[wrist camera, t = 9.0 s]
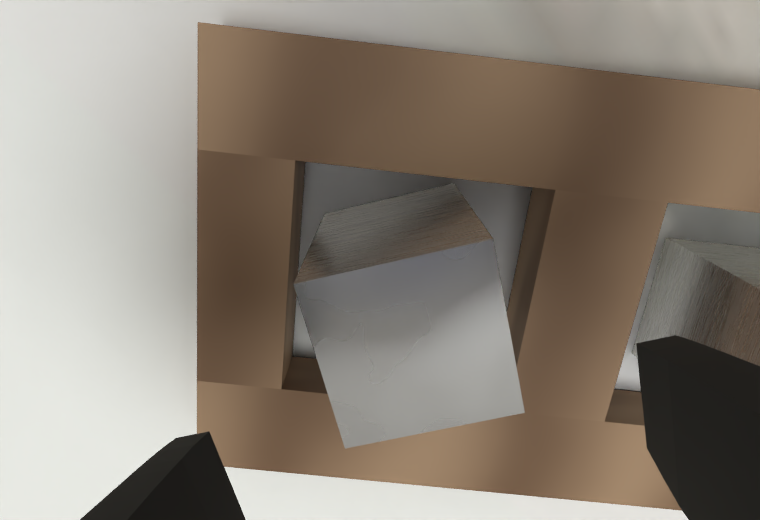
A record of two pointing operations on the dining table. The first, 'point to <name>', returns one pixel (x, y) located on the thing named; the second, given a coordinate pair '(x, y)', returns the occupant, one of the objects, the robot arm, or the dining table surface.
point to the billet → (706, 297)
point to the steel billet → (408, 317)
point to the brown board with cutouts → (460, 161)
